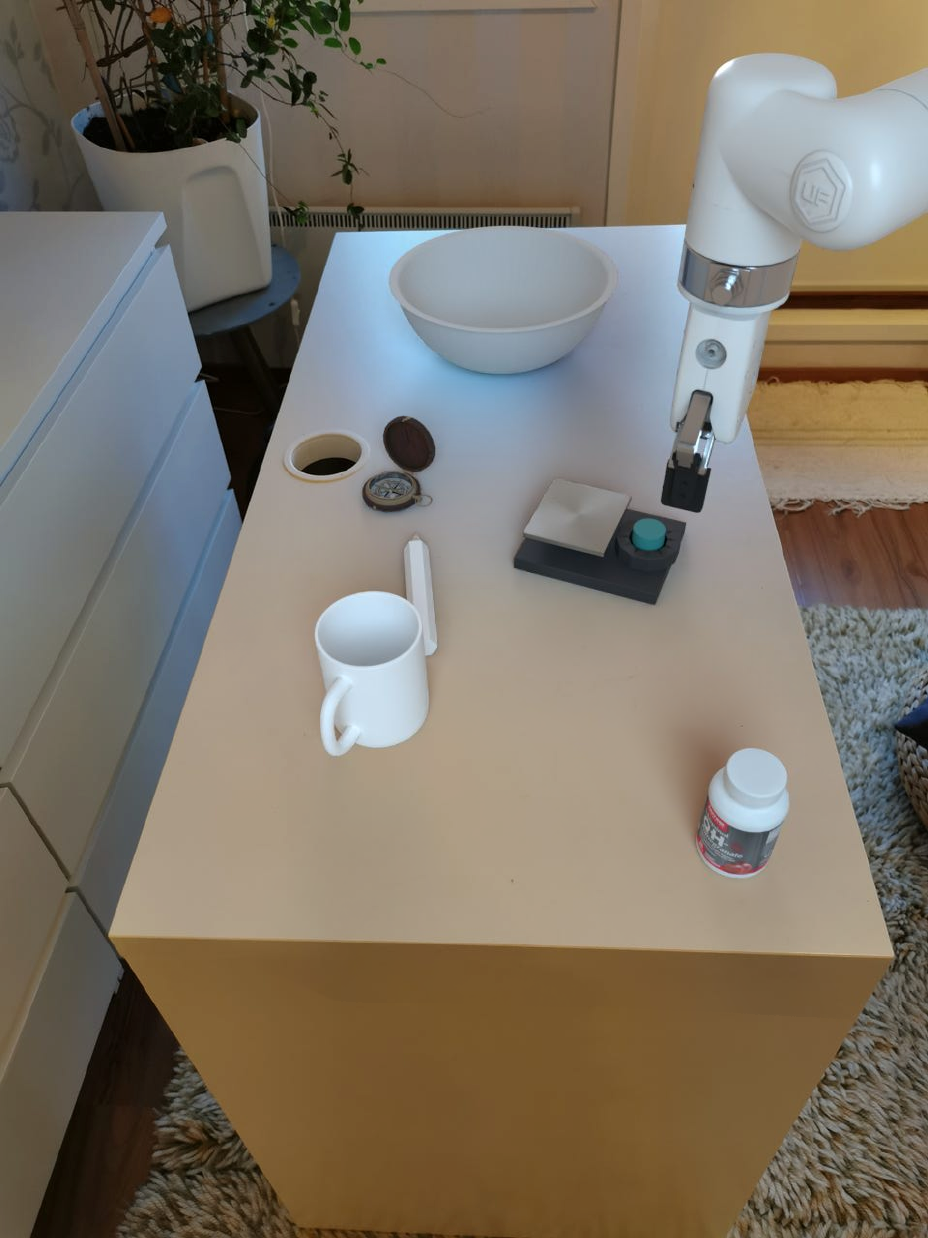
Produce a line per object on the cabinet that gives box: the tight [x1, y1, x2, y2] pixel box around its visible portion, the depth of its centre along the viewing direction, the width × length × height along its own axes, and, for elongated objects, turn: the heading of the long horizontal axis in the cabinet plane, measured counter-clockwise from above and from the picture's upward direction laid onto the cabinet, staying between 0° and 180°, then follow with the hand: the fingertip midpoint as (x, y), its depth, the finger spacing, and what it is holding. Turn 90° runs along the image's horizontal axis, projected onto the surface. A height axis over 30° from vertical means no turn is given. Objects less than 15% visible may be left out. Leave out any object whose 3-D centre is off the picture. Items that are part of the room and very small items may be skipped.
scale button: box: [632, 519, 666, 551], centre depth 90 cm, size 3×3×2 cm
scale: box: [513, 508, 687, 606], centre depth 92 cm, size 14×11×3 cm
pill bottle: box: [695, 747, 790, 879], centre depth 67 cm, size 5×5×10 cm
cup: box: [314, 590, 430, 757], centre depth 75 cm, size 8×12×10 cm
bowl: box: [388, 225, 619, 375], centre depth 117 cm, size 27×27×10 cm
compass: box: [361, 415, 436, 513], centre depth 98 cm, size 8×8×7 cm
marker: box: [403, 531, 439, 657], centre depth 89 cm, size 3×2×16 cm
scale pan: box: [522, 477, 633, 557], centre depth 92 cm, size 8×9×1 cm
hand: (695, 470), depth 77 cm, fingers open, 9 cm apart
